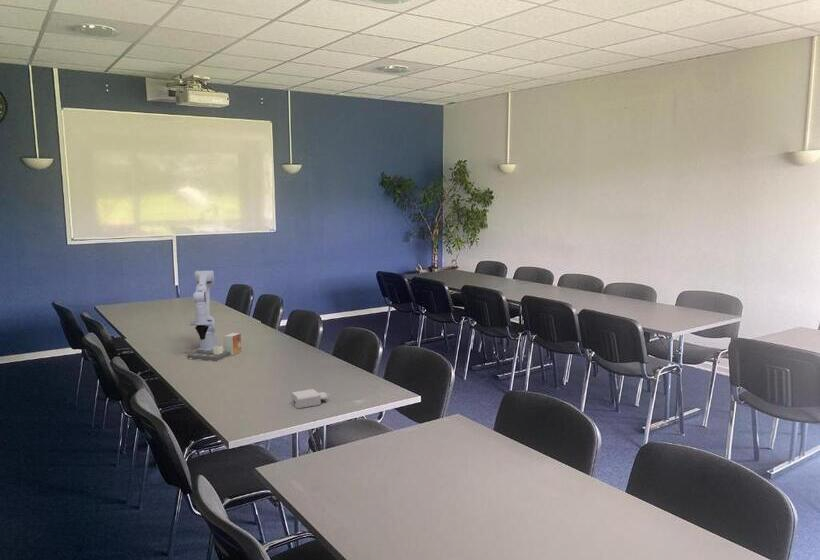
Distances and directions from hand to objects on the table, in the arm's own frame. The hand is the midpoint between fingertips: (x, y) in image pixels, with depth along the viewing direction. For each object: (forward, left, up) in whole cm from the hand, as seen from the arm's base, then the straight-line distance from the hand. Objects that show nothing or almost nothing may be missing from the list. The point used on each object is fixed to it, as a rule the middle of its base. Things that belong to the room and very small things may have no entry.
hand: (202, 339), depth 317 cm
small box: (-10, +12, -10) cm, 18 cm away
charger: (+51, +89, -10) cm, 103 cm away
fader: (0, +10, -7) cm, 12 cm away
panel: (0, +4, -9) cm, 10 cm away
